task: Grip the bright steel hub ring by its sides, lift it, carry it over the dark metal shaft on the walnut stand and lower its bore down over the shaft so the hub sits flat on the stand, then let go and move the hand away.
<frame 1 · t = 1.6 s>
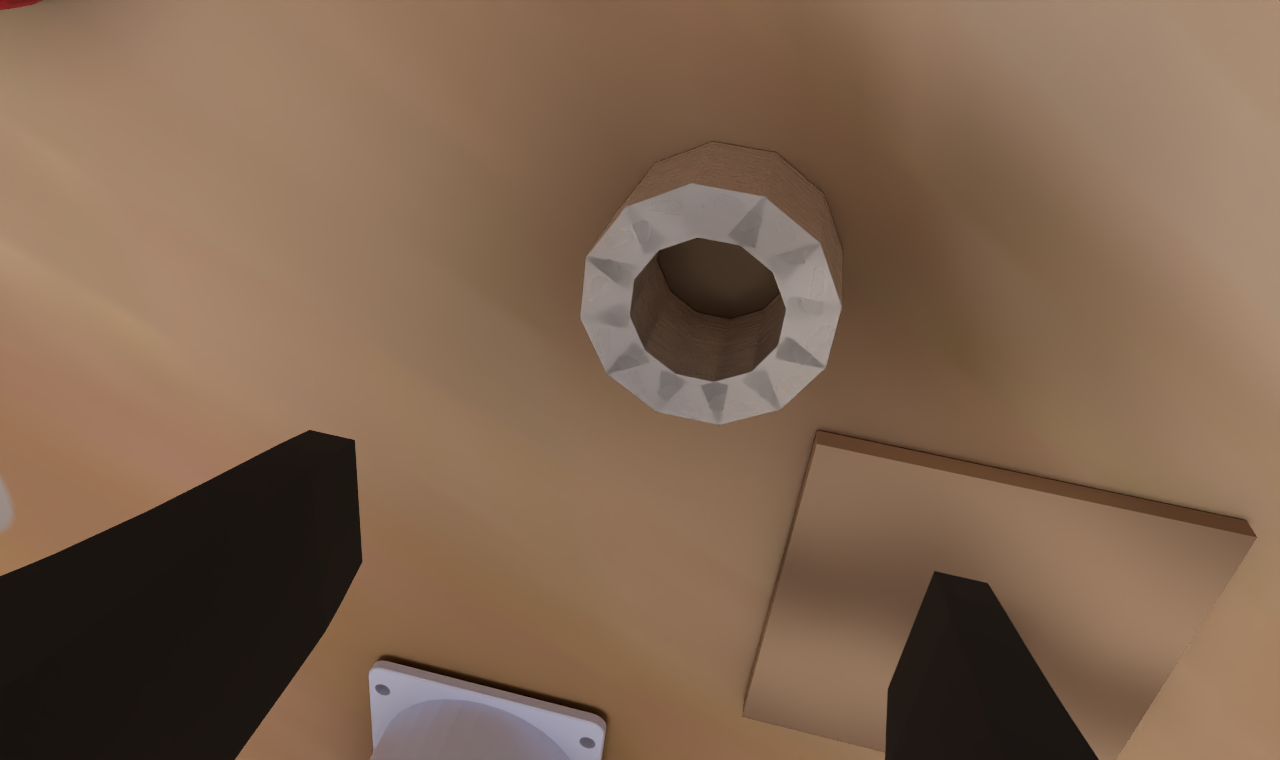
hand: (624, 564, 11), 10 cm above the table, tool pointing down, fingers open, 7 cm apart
steel hub: (724, 256, 20), on the table
shaft stand: (961, 622, 23), on the table
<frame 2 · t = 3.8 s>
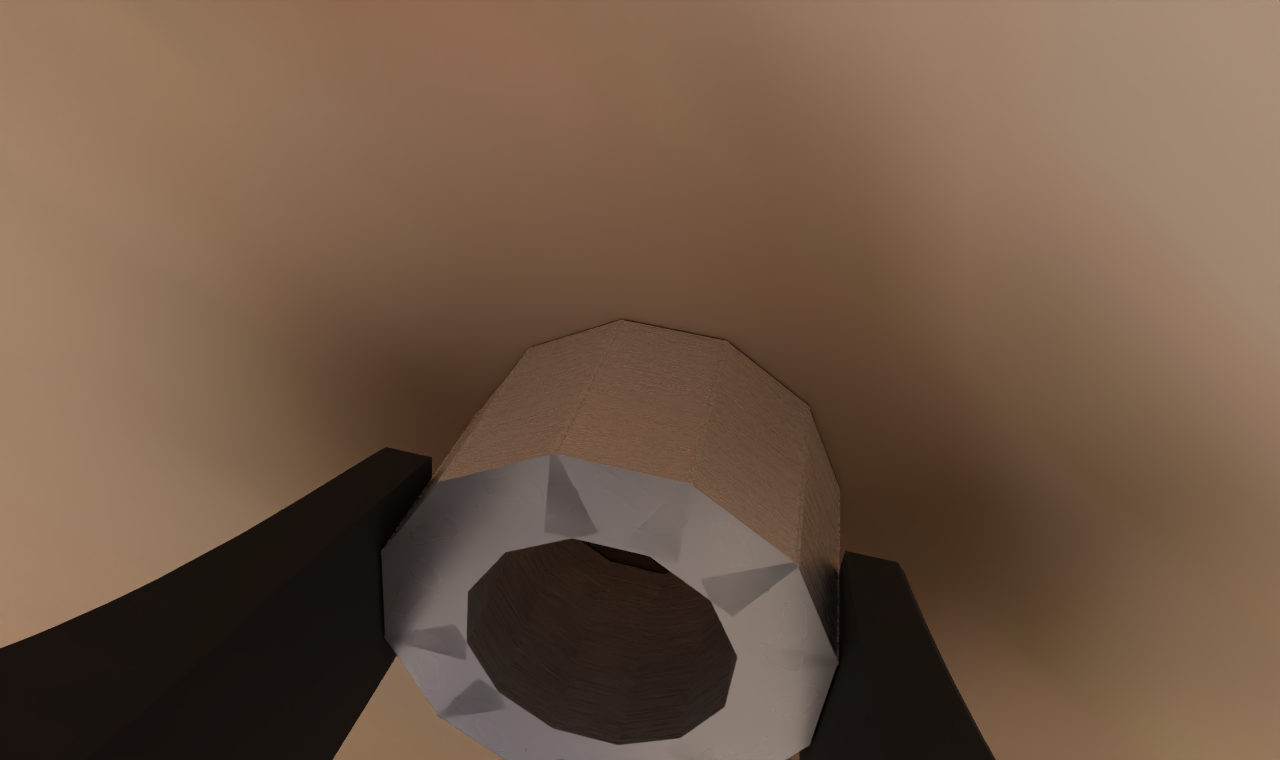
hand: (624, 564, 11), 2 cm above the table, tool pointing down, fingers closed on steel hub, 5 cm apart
steel hub: (649, 488, 12), on the table, touching gripper
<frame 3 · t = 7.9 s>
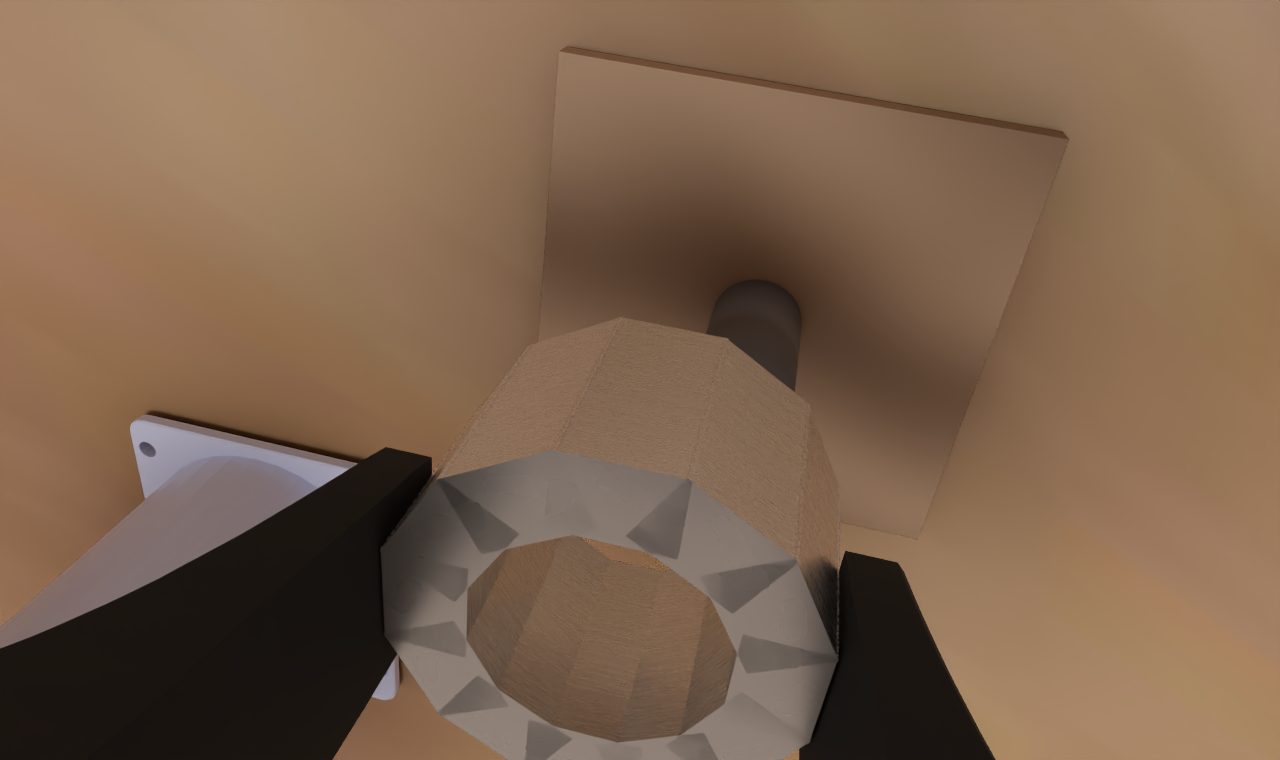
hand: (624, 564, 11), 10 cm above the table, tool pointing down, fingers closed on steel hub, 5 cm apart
steel hub: (648, 485, 12), point 9 cm above the table, touching gripper
shaft stand: (758, 309, 20), on the table
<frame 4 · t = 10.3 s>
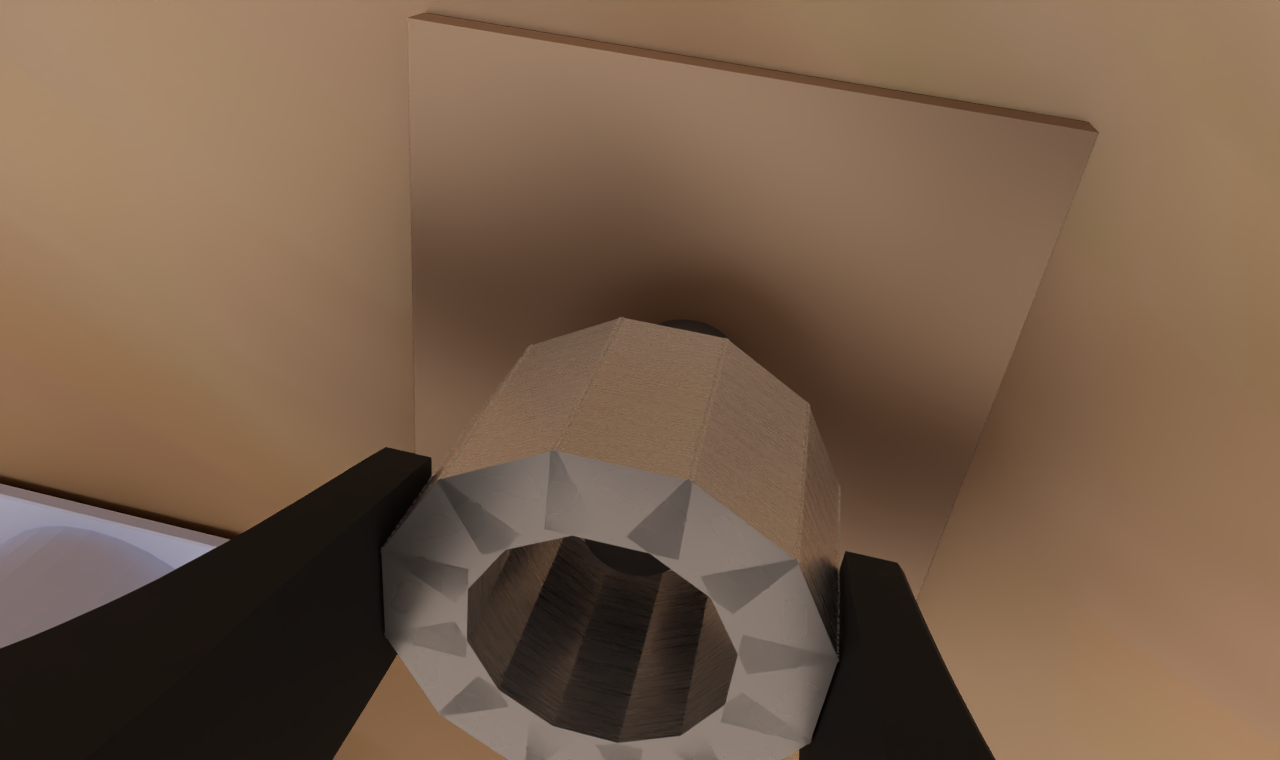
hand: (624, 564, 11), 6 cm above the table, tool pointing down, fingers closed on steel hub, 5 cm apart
steel hub: (649, 486, 12), point 4 cm above the table, touching gripper
shaft stand: (691, 355, 16), on the table
when the fingers open (3 cm above the table, at t = 12.5 s): steel hub drops 1 cm, resting on shaft stand.
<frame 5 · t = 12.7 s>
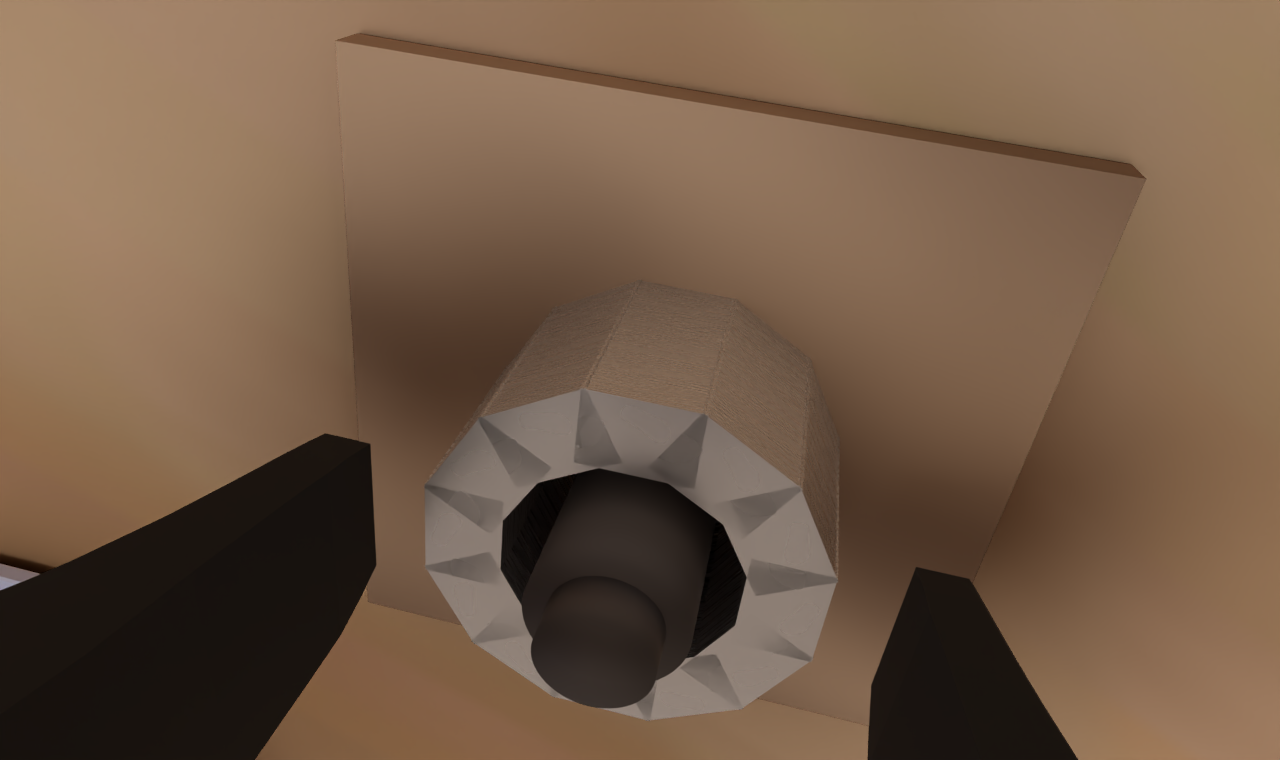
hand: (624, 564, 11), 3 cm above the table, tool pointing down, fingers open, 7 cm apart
steel hub: (663, 439, 13), point 1 cm above the table, touching shaft stand
shaft stand: (671, 420, 14), on the table
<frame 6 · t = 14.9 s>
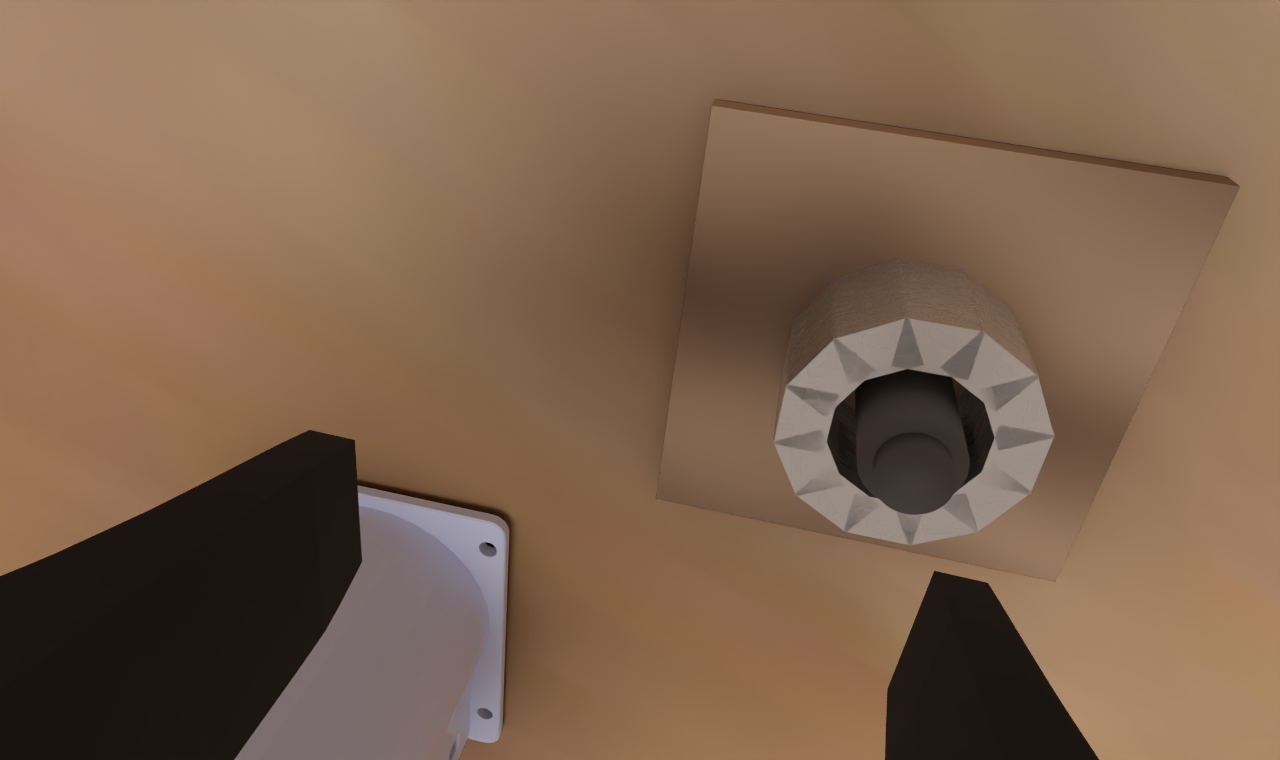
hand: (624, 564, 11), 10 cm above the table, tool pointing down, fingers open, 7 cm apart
steel hub: (899, 366, 19), point 1 cm above the table, touching shaft stand
shaft stand: (899, 355, 20), on the table
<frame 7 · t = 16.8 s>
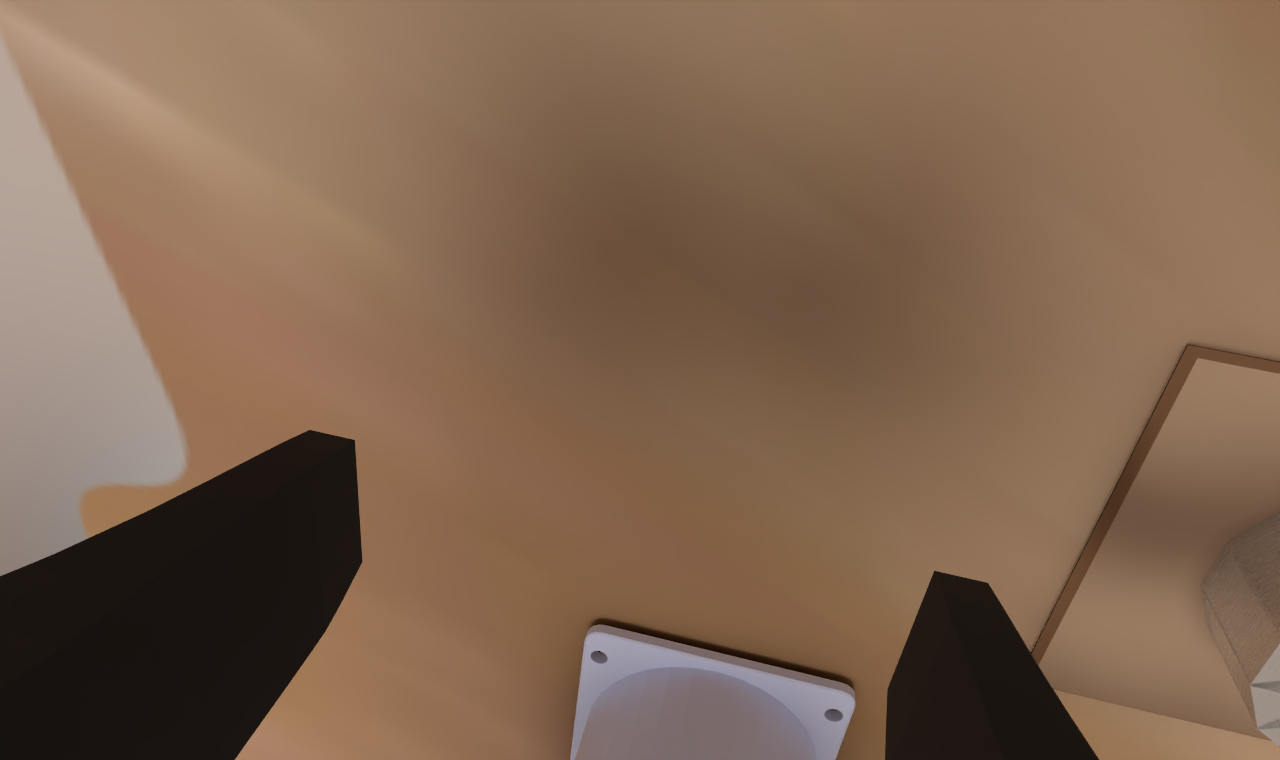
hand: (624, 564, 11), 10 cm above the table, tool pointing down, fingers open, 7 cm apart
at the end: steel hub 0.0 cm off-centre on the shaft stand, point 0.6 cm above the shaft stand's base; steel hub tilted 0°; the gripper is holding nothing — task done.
